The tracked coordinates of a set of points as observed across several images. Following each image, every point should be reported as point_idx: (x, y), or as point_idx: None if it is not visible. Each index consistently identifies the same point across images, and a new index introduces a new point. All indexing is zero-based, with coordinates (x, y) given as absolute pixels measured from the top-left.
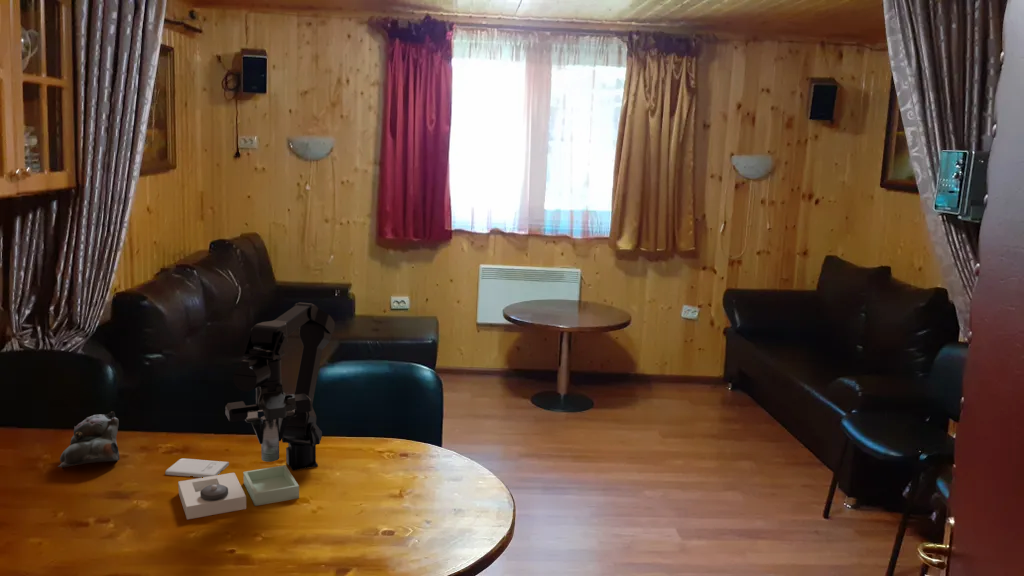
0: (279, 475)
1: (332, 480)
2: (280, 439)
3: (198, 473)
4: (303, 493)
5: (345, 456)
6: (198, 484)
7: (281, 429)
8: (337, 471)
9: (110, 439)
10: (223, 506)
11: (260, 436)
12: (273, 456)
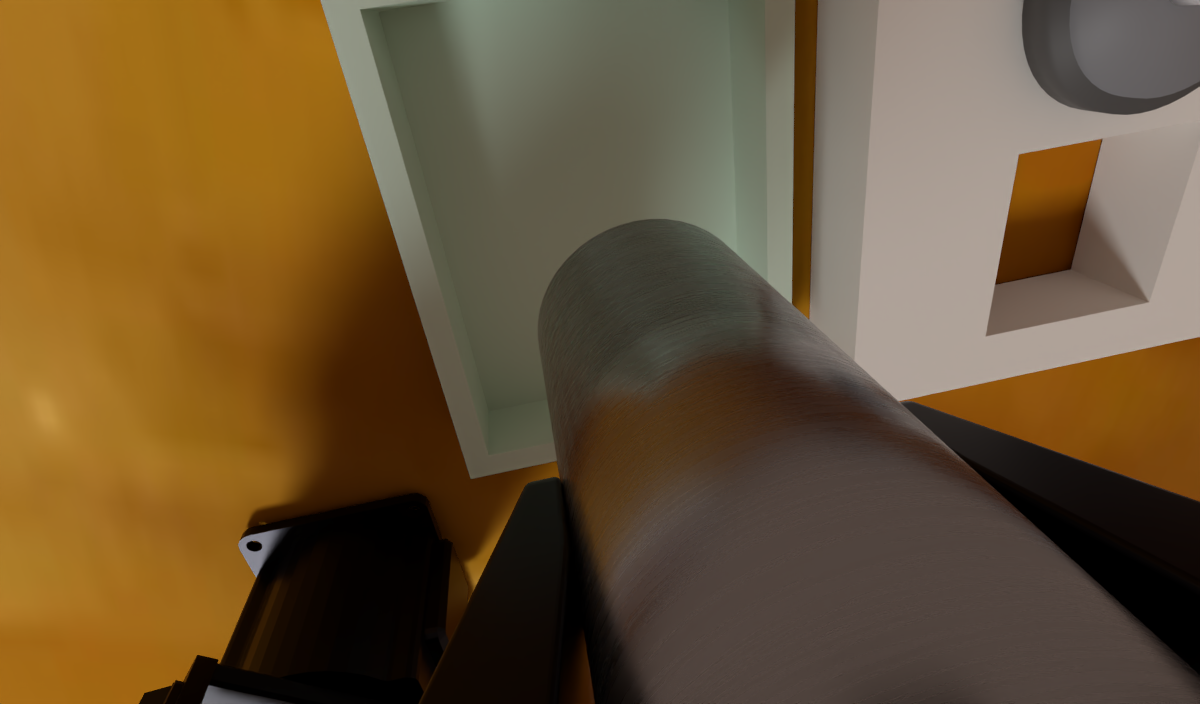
0: (517, 409)
1: (67, 296)
2: (535, 497)
3: None
4: (310, 84)
5: (56, 651)
6: (1088, 300)
7: (523, 700)
8: (61, 447)
9: None
10: None
11: (1042, 477)
12: (634, 249)
